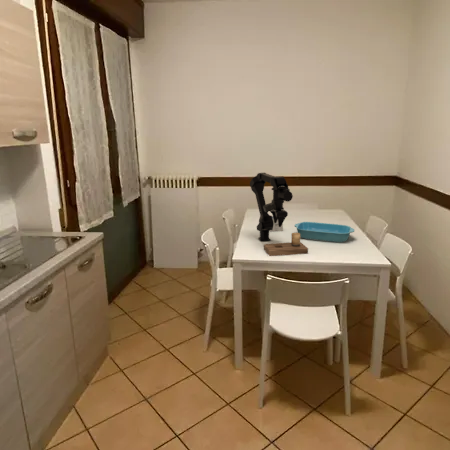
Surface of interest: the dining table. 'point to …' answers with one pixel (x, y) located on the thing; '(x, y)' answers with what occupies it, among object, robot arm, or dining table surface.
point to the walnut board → (284, 249)
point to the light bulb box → (276, 225)
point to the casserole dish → (324, 231)
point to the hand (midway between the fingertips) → (277, 224)
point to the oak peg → (295, 239)
